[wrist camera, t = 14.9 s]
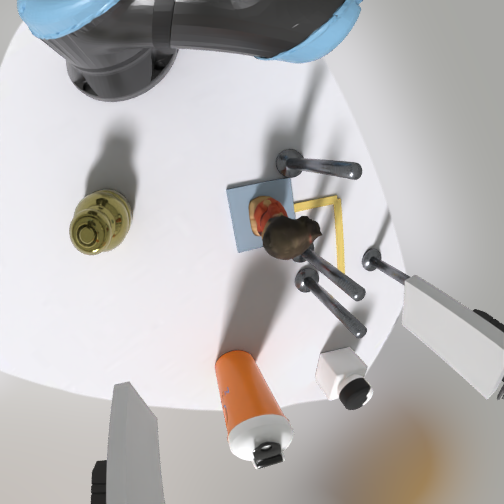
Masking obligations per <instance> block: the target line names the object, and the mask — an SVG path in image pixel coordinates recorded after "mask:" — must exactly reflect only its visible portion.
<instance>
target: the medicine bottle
mask: <svg viewBox="0 0 504 504" xmlns="http://www.w3.org/2000/svg"><path fill="white" fill-rule="evenodd" d="M366 370H367V365H366V364H365V363H364V362H363V361H362V360H361V359H360V357H359V356H358V355H357V354H356V353H355V352H354V351H353V350H352V349H351V348H350V347H347V348H342V349H338V350H334V351H329V352H325V353H321V354H320V357H319V362H318V366H317V370H316V375H315V380H316V382H317V383H318V385H319V386H320V388H321V389H322V391H323V392H324V394H325V395H326V397H327V398H328V400H334V399H337V398H339V399H340V400H341V402H342V403H343V404H344V406H345V407H346V409H348V410H355V409H358V408H360V407H361V406H363V405H364V404H366V403H367V402H368V401H369V400H370V398H371V397H372V395H373V388H372V386H371V385H370V384H369V383H368V382H367V380H366V379H365V378H364V376H365V373H366Z"/></svg>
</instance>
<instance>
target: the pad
mask: <svg viewBox="0 0 504 504" xmlns="http://www.w3.org/2000/svg"><path fill="white" fill-rule="evenodd" d="M226 192H227V197H228V202H229V208H230V213H231V218H232V224H233V229H234V234H235V239H236V245H237V250H238V253H240V252H244V251H248V250H252V249H256V248H261V247H263V241H262V238H261V236H260V237H258V236H255V235H254V234H253V232H252V229H251V224H250V219H249V209H248V208H249V203H250V201H251V200H253V199H254V198H256V197H259V196H270V197H272V198H273V199H275V200H277V201H279V202H280V203H281V204H282V206H283V207H284V209H285V210H286V212H287V215H288V218H291V219H295V212H294V204H293V196H292V189H291V181H290V178H283V179H278V180H272V181H267V182H262V183H256V184H251V185H246V186H241V187H236V188H232V189H227V190H226Z"/></svg>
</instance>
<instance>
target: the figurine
mask: <svg viewBox="0 0 504 504" xmlns="http://www.w3.org/2000/svg"><path fill="white" fill-rule="evenodd" d="M248 209H249V219H250V224H251V229H252V232H253V234H254V235H255V236H258V237H260V236H261V238H262V241H263V247H264V248H265V250H266V251H267V252H268V253H269V254H270V255H271V256H273V257H275V258H278V259H282V260H288V259H292V258H295V257H297V256H299V255H301V254H302V253H304V251H306V250H307V249H308V248H309V247H310V245H311V244H312V243H313V242H314V240H315V239H316V238H317V237H319V236H321V235H322V233H321V232H320V227H319V224H318V223H317V222H316V221H312V219H309V218H308V216H301V217H300V218H298V219H291V218H288V215H287V212H286V210H285V209H284V207H283V206H282V204H281V203H280V202H279V201H277V200H275V199H273V198H272V197H270V196H259V197H256V198H254V199H253V200H251V201H250V203H249V208H248Z"/></svg>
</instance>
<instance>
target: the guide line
mask: <svg viewBox="0 0 504 504" xmlns="http://www.w3.org/2000/svg"><path fill="white" fill-rule="evenodd" d="M331 204H334V215H335V229H336V244H337V265H338V270H340V271H341V272H342V273H344V274H345V265H344V240H343V223H342V209H341V199H340V198H339V199H337V195H335V196H330V197H325V198H319V199H314V200H309V201H304V202H300V203H295V204H294V212H298V211H303V210H307V209H312V208H317V207H322V206H326V205H331Z"/></svg>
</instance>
